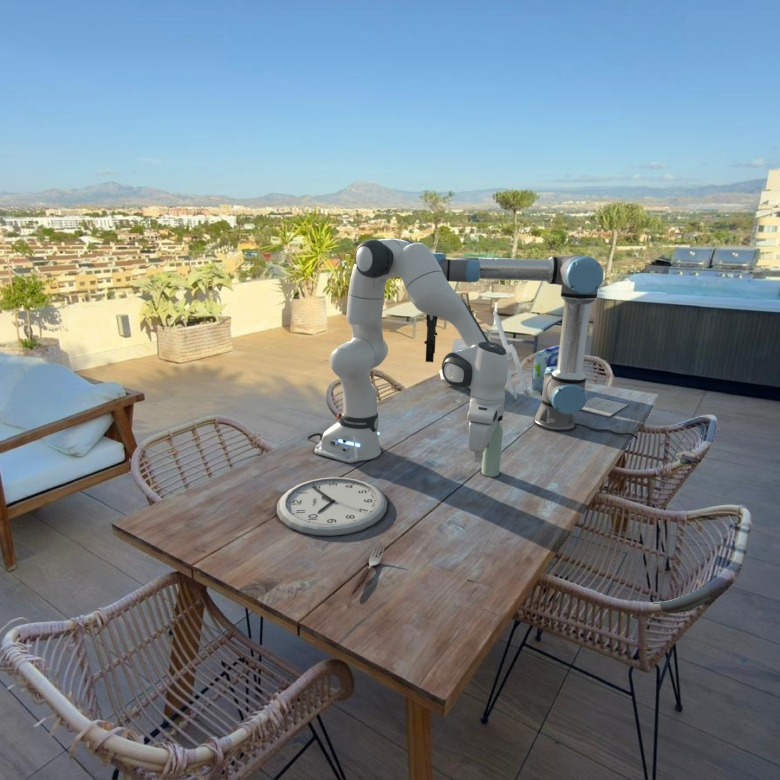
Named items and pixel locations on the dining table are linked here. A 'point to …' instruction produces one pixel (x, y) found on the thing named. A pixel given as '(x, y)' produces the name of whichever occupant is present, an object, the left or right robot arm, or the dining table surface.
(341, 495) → the wall clock
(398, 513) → the dining table surface
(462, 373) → the left robot arm
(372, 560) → the fork
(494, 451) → the bottle
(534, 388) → the lunch box
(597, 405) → the invitation card
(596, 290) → the right robot arm
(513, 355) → the white plastic object
